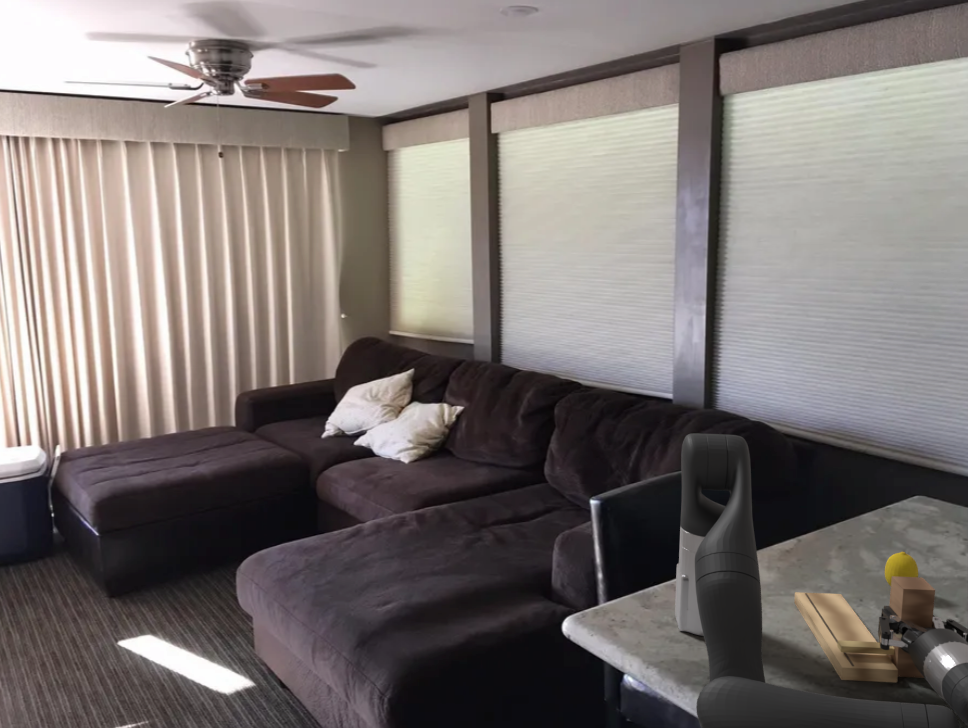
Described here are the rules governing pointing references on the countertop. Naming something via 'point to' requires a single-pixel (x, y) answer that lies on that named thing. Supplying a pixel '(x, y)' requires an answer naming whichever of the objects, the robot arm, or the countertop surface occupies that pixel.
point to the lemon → (900, 566)
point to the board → (843, 637)
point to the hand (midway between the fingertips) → (903, 612)
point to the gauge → (909, 603)
